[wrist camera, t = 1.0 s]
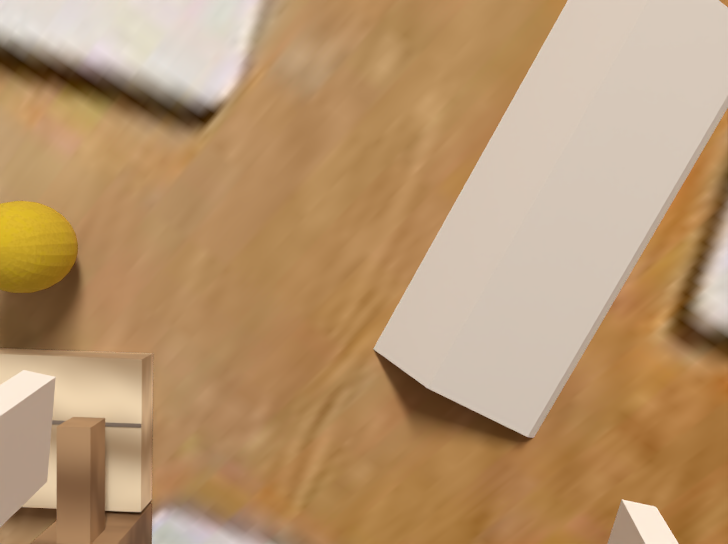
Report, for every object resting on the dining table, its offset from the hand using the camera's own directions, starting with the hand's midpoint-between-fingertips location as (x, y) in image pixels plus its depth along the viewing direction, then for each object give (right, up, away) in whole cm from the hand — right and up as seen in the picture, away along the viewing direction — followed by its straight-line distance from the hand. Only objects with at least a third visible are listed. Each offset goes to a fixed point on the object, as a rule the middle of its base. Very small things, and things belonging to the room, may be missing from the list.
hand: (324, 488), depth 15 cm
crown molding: (+14, +10, +28) cm, 33 cm away
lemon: (-19, +7, +29) cm, 35 cm away
